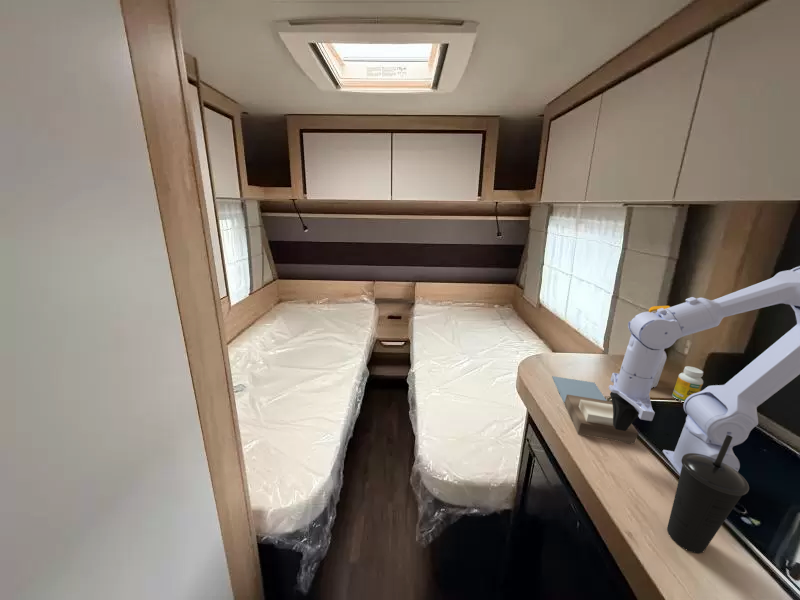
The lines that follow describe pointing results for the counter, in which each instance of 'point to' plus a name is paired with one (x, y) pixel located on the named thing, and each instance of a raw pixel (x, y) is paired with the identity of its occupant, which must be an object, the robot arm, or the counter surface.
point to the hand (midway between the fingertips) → (619, 428)
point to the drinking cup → (704, 498)
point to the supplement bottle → (688, 383)
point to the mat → (577, 388)
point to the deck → (595, 428)
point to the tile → (597, 412)
